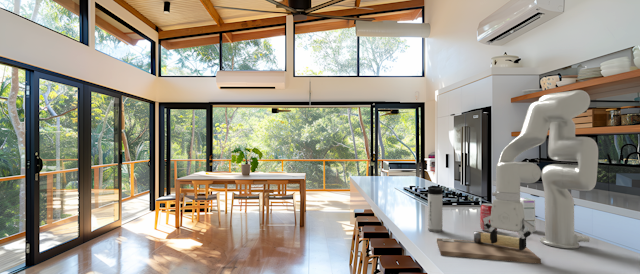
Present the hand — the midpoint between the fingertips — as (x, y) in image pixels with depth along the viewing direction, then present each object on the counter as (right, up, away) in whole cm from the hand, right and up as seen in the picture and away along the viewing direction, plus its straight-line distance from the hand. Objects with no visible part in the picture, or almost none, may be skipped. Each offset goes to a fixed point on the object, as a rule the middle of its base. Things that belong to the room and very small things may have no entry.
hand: (507, 246), depth 118 cm
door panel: (-7, -3, +4) cm, 8 cm away
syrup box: (+29, -5, +37) cm, 47 cm away
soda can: (+11, -5, +35) cm, 37 cm away
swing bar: (-1, -1, +6) cm, 6 cm away
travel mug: (-14, -4, +34) cm, 37 cm away
